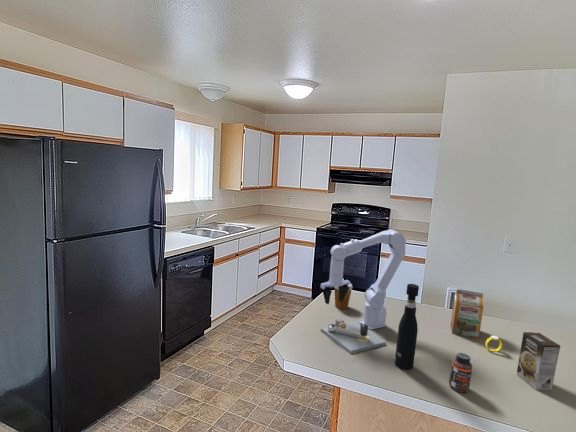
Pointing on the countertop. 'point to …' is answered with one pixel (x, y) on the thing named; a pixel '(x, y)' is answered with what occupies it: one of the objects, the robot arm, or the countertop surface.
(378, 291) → the robot arm
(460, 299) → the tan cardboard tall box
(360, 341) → the base
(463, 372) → the supplement bottle
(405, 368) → the black water bottle
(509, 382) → the countertop surface
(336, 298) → the disposable coffee cup
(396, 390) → the countertop surface
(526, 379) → the brown food box
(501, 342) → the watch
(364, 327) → the lever
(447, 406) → the countertop surface
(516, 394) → the countertop surface
